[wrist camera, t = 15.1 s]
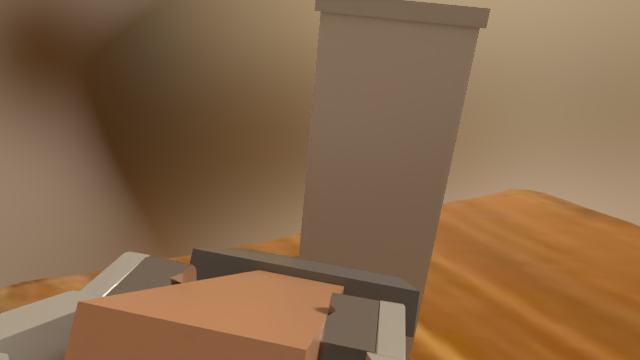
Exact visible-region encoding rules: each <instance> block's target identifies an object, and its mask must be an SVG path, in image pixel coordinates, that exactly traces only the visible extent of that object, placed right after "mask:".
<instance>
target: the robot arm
mask: <svg viewBox="0 0 640 360" xmlns="http://www.w3.org/2000/svg"><path fill="white" fill-rule="evenodd" d="M194 281H197V277H196V268H195V267H194V265H192V264H187V263H183V262H178V261H174V260H169V259H164V258H160V257H155V256H149V255H146V254H140V253H135V252H125V253H124V254H122V255H121V256H120V257H119V258H118V259H117V260H115V261H114V262H113V263H112V264H111V265H110V266H108V267H107V268H106V269H105V270H104V271H103V272H101V273H100V274H99V275H98V276H97V277H96V278H94V279H93V280H92V281H91V282H90V283H89V284H87V285H86V286H85V287H84V288H83V289H82V290H80V291H79V292H78V291H73V290H72V291H68V292H65V293H62V294H59V295H56V296H53V297H50V298H47V299H44V300H41V301H37V302H34V303H31V304H28V305H25V306H22V307H19V308H16V309H13V310H10V311H6V312H3V313H0V360H64V356H65V352H66V348H67V344H68V340H69V336H70V332H71V328H72V324H73V320H74V316H75V312H76V308H77V304H78V301H83V300H89V299H94V298H100V297H106V296H112V295H118V294H123V293H129V292H135V291H141V290H146V289H152V288H158V287H164V286H170V285H175V284H181V283H188V282H194ZM328 313H329V314H328V316H327V317H326V321H325V324H324V328H323V332H322V336H321V340H320V347H319V354H318V360H406V342H405V306H404V304H399V303H393V302H387V301H381V300H380V302H379V301H377V300H372V299H366V298H361V297H355V296H350V295H344V294H339V293H332V295H331V299H330V303H329V310H328Z"/></svg>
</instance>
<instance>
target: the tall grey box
mask: <svg viewBox="0 0 640 360" xmlns="http://www.w3.org/2000/svg"><path fill="white" fill-rule="evenodd" d="M315 11H321V16H320V27H319V38H318V49H317V60H316V72H315V83H314V94H313V105H312V116H311V127H310V139H309V150H308V162H307V173H306V183H305V194H304V206H303V217H302V229H301V239H300V250H299V259H303V260H308V261H314V262H319V263H324V264H330V265H335V266H340V267H346V268H351V269H356V270H362V271H367V272H372V273H378V274H383V275H388V276H394V277H399V278H402V279H403V280H405V281H406V282H407V283H409V284H410V285H411V286H413V287H414V288H416V289H417V290H418V291H420V294H419V301H418V308H417V315H416V321H415V328H414V335H413V338H412V337H408V336H405V342H406V360H410V355H411V350H412V346H413V341H414V336H415V331H416V327H417V322H418V317H419V312H420V308H421V303H422V298H423V294H424V289H425V284H426V279H427V275H428V270H429V265H430V260H431V256H432V251H433V246H434V242H435V237H436V232H437V227H438V223H439V218H440V213H441V208H442V204H443V199H444V194H445V189H446V185H447V180H448V175H449V171H450V166H451V161H452V156H453V152H454V147H455V142H456V137H457V132H458V127H459V123H460V118H461V114H462V109H463V104H464V99H465V95H466V90H467V85H468V81H469V75H470V71H471V66H472V62H473V57H474V52H475V47H476V43H477V38H478V33H479V29H480V28H486V26H487V22H488V17H489V12H490V9H488V8H477V7H467V6H456V5H445V4H436V3H426V2H415V1H405V0H316V3H315Z"/></svg>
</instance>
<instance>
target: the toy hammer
mask: <svg viewBox="0 0 640 360" xmlns="http://www.w3.org/2000/svg"><path fill="white" fill-rule="evenodd" d="M190 264H192V265H194V267H195V268H196V277H197V281H194V282H188V283H181V284H175V285H170V286H164V287H158V288H152V289H146V290H141V291H135V292H129V293H123V294H118V295H112V296H106V297H100V298H94V299H89V300H83V301H78V304H77V308H76V312H75V316H74V320H73V324H72V328H71V332H70V336H69V340H68V344H67V348H66V352H65V356H64V360H318V354H319V347H320V340H321V336H322V332H323V328H324V324H325V321H326V317H327V316H328V314H329V313H328V310H329V303H330V299H331V295H332V293H339V294H344V295H350V296H355V297H361V298H366V299H372V300H377V301H379V302H380V300H381V301H387V302H393V303H399V304H404V306H405V336H408V337H412V338H413V335H414V328H415V321H416V315H417V308H418V301H419V294H420V291H418V290H417V289H416V288H414V287H413V286H411V285H410V284H409V283H407V282H406V281H405V280H403V279H402V278H399V277H394V276H388V275H383V274H378V273H372V272H367V271H362V270H356V269H351V268H346V267H340V266H335V265H330V264H324V263H319V262H314V261H308V260H303V259H298V258H292V257H287V256H282V255H276V254H271V253H265V252H260V251H255V250H245V249H193V252H192V256H191V261H190Z"/></svg>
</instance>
